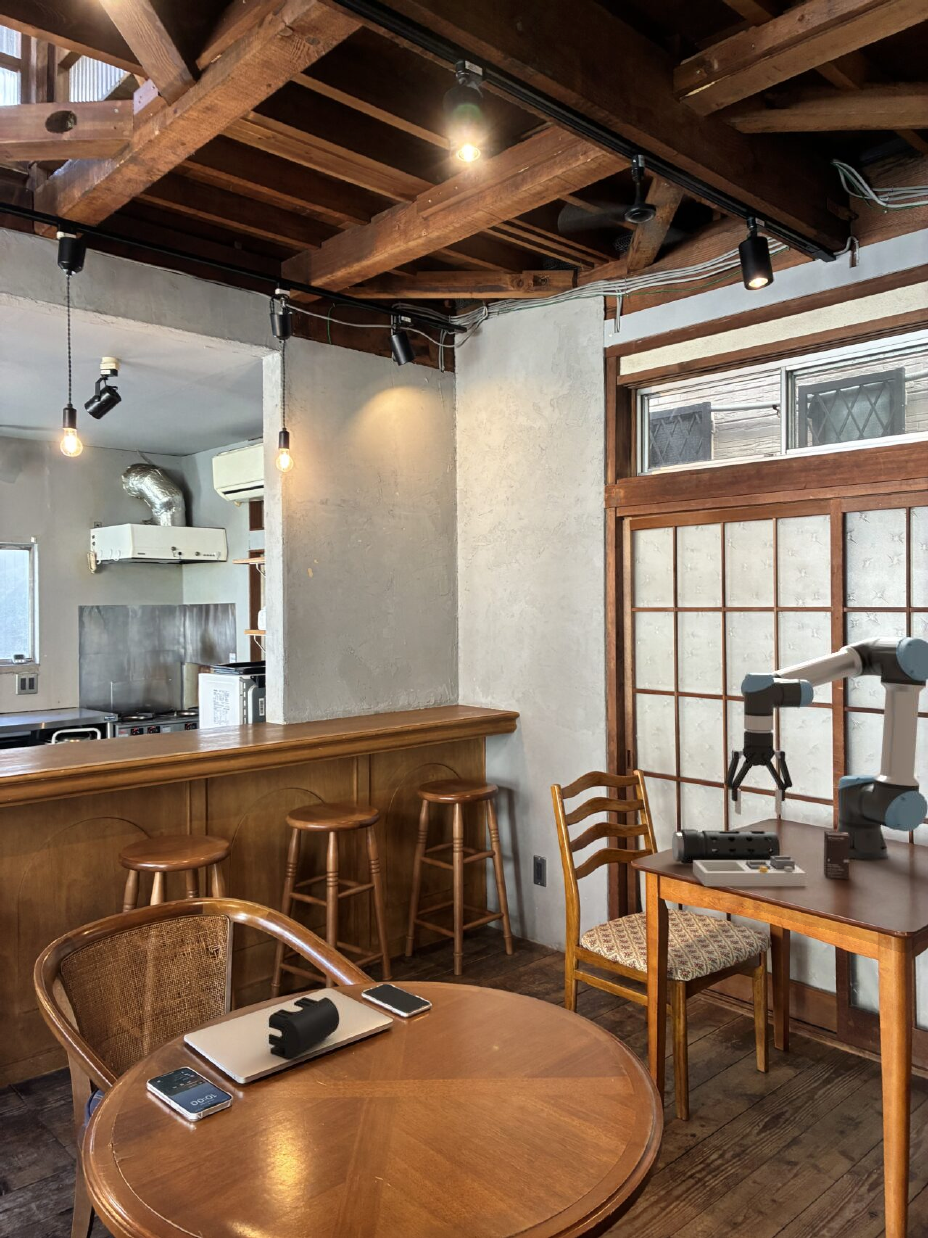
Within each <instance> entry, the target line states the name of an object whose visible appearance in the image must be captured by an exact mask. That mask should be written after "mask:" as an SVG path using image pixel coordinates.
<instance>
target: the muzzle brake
mask: <svg viewBox="0 0 928 1238" xmlns="http://www.w3.org/2000/svg"><path fill="white" fill-rule="evenodd" d="M671 843H672V844H671V845H672V846H671V847H672V855H673V859H674V861H675V862H680V863H681V864H683V865H693V860H770V856H781V853H780V852H781V849H780V848H781V847H780V846H781V845H780V841H779V837H778V834H777V833H776V832H775V830H702V831H701V832H699V830H697V829H693V828H690V829H689V828H688V829H687V828H686V829H685V828H684V829H683V828H682V829H680V830H679V831H674V832H673V834H672V842H671Z"/></svg>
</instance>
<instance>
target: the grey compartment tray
mask: <svg viewBox="0 0 928 1238" xmlns="http://www.w3.org/2000/svg"><path fill="white" fill-rule="evenodd" d="M746 861H765V862H766V863H767V864H768V865H769V866H770V869H767V867H765V866H760V867H759V869H750V868H749V867H748V866H747V865H746ZM692 873H693V875H694V876H695V877H696V879H698V881H700V882H701V884H702V885H703V886H705V887H806V882H807V880H806V872H805V871H804V870H803V869H801V868H799V866H797V865H796V864H795V869H792V867H790V866H785V867H784V869H775V868H774V867H773V866H771V865H770V860H693V864H692Z"/></svg>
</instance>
